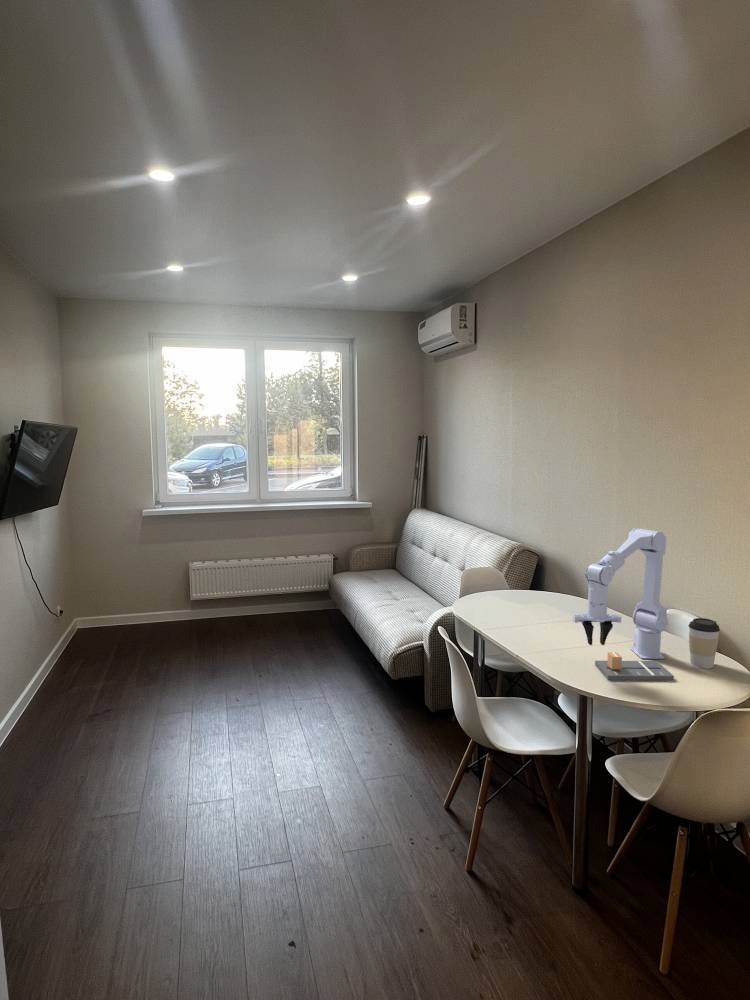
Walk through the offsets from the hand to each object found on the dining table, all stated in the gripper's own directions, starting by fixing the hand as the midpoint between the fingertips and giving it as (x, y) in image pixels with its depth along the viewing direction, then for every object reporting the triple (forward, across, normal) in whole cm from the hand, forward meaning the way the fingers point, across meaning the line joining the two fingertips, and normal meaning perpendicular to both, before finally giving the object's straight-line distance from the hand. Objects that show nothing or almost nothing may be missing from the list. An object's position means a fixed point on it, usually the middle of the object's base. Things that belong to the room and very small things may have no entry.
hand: (596, 644), depth 190 cm
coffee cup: (+10, +37, +7) cm, 39 cm away
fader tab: (+8, +6, 0) cm, 10 cm away
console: (+9, +12, 0) cm, 15 cm away
